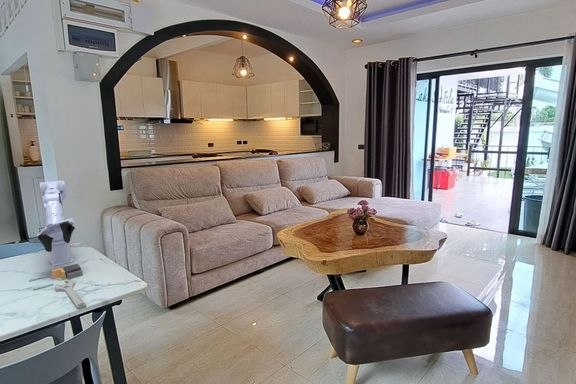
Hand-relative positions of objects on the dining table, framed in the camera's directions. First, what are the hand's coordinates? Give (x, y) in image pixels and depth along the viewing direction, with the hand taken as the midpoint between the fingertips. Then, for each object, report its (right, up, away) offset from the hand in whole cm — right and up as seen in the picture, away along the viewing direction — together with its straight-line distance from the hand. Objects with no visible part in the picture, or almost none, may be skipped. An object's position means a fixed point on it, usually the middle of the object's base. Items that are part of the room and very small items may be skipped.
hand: (57, 246), depth 129 cm
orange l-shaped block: (-1, -13, +2) cm, 13 cm away
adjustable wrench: (+12, -16, -12) cm, 24 cm away
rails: (-5, -14, -2) cm, 15 cm away
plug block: (+3, -12, +5) cm, 14 cm away
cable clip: (+3, -12, +5) cm, 13 cm away
